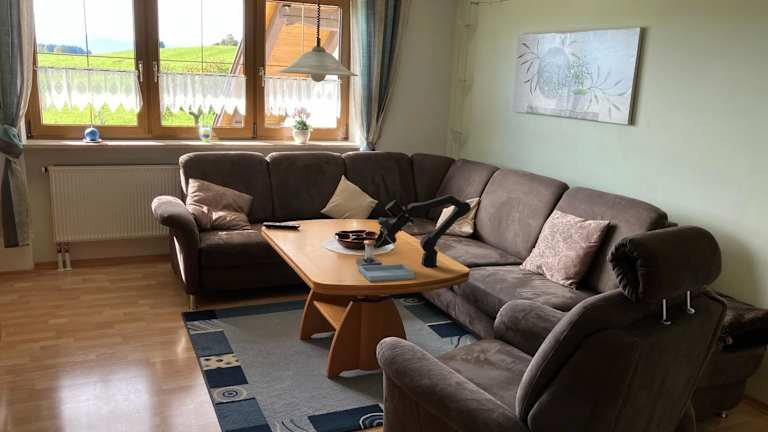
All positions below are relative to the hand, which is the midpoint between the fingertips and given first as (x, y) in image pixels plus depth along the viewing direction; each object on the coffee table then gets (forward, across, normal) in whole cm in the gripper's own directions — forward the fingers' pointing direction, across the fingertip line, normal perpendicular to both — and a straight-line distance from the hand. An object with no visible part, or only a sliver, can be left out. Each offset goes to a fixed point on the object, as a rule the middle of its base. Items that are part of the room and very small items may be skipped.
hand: (375, 245), depth 304 cm
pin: (+9, 0, +5) cm, 11 cm away
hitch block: (+9, 0, +5) cm, 11 cm away
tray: (+5, +16, +10) cm, 19 cm away
